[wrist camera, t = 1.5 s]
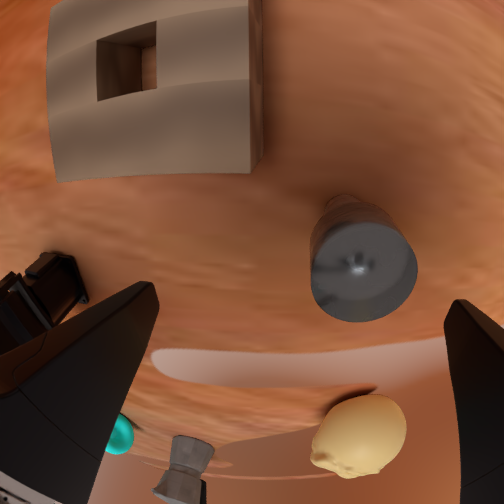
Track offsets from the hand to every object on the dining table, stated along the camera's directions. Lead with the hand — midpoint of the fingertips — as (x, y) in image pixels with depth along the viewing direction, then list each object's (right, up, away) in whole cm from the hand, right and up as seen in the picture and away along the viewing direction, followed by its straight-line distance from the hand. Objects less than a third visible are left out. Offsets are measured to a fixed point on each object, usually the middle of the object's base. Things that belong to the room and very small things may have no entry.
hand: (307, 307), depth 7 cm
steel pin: (+5, +4, +12) cm, 14 cm away
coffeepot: (-13, -40, +42) cm, 59 cm away
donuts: (-33, -35, +42) cm, 64 cm away
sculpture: (+13, -20, +25) cm, 35 cm away
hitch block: (-8, +15, +9) cm, 19 cm away
